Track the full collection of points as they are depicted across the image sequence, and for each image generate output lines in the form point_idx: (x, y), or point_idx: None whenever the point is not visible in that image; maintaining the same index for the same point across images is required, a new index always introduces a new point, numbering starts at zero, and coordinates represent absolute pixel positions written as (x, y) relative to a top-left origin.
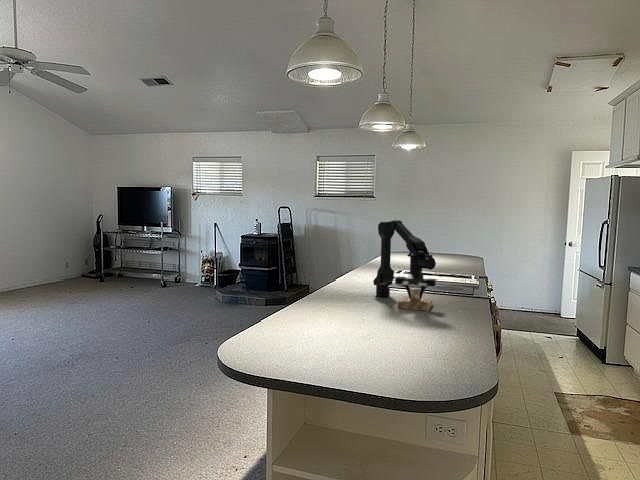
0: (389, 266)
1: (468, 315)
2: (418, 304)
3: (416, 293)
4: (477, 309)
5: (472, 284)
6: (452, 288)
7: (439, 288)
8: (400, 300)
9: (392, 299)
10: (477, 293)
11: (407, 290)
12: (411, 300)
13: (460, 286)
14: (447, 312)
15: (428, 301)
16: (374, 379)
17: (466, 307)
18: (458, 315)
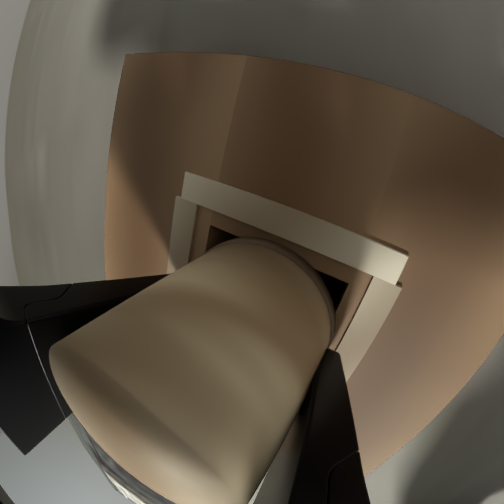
0: None
1: (32, 79)
2: (234, 54)
3: (151, 300)
4: (15, 211)
5: (112, 476)
6: (137, 483)
7: (167, 501)
8: (501, 315)
9: (408, 491)
10: (75, 419)
11: (353, 489)
12: (322, 286)
13: (127, 481)
14: (76, 101)
15: (116, 238)
16: None
17: (35, 247)
18: (54, 54)
